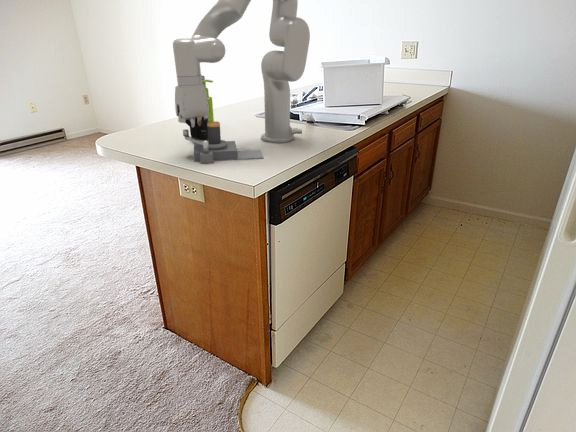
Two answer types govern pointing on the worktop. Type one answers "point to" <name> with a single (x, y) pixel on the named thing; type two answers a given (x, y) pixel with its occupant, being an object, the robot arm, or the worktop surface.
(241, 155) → the mat
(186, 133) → the clip
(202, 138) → the supplement bottle
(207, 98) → the soap dispenser
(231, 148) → the grey flat block
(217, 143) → the plug
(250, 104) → the worktop surface
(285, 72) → the robot arm
